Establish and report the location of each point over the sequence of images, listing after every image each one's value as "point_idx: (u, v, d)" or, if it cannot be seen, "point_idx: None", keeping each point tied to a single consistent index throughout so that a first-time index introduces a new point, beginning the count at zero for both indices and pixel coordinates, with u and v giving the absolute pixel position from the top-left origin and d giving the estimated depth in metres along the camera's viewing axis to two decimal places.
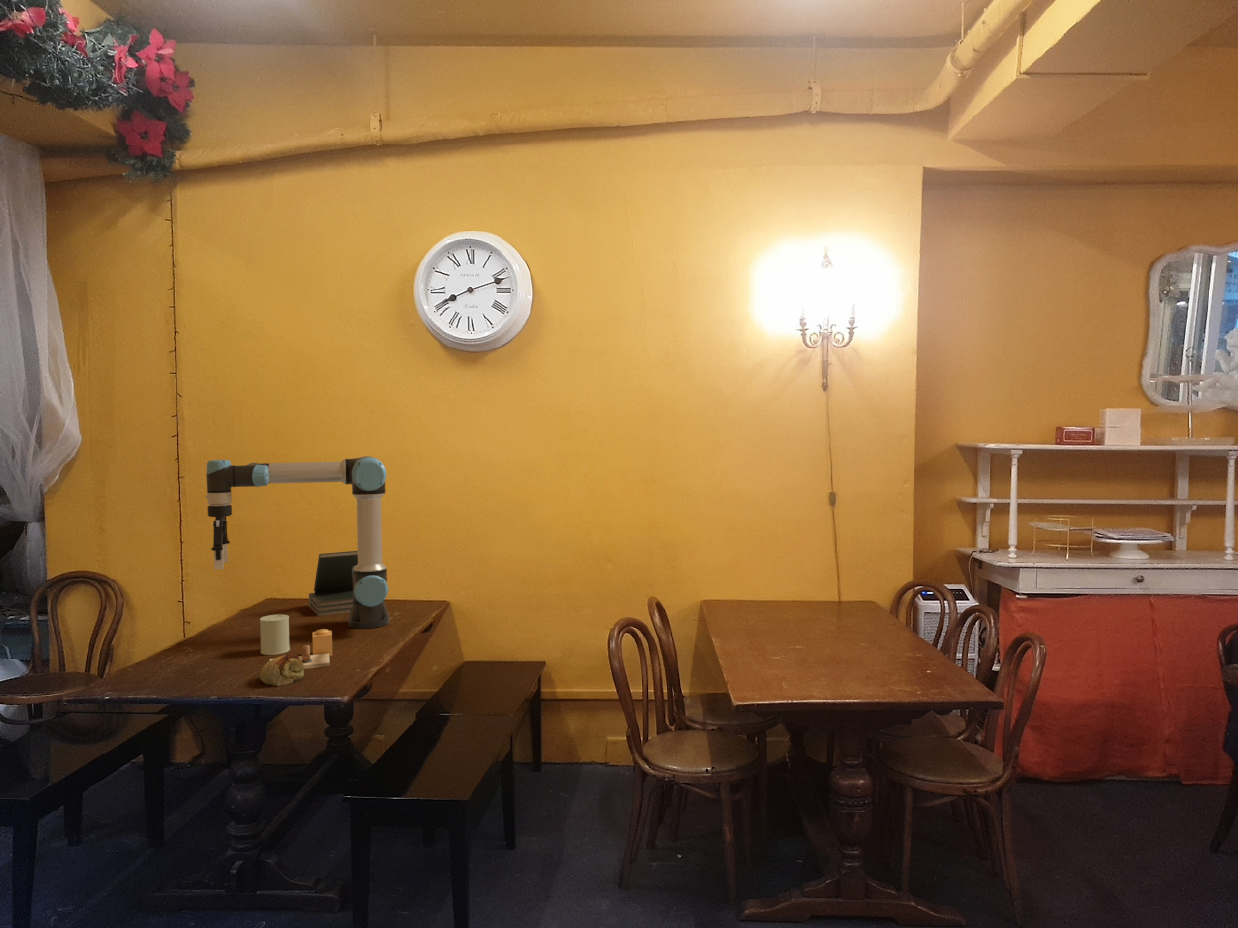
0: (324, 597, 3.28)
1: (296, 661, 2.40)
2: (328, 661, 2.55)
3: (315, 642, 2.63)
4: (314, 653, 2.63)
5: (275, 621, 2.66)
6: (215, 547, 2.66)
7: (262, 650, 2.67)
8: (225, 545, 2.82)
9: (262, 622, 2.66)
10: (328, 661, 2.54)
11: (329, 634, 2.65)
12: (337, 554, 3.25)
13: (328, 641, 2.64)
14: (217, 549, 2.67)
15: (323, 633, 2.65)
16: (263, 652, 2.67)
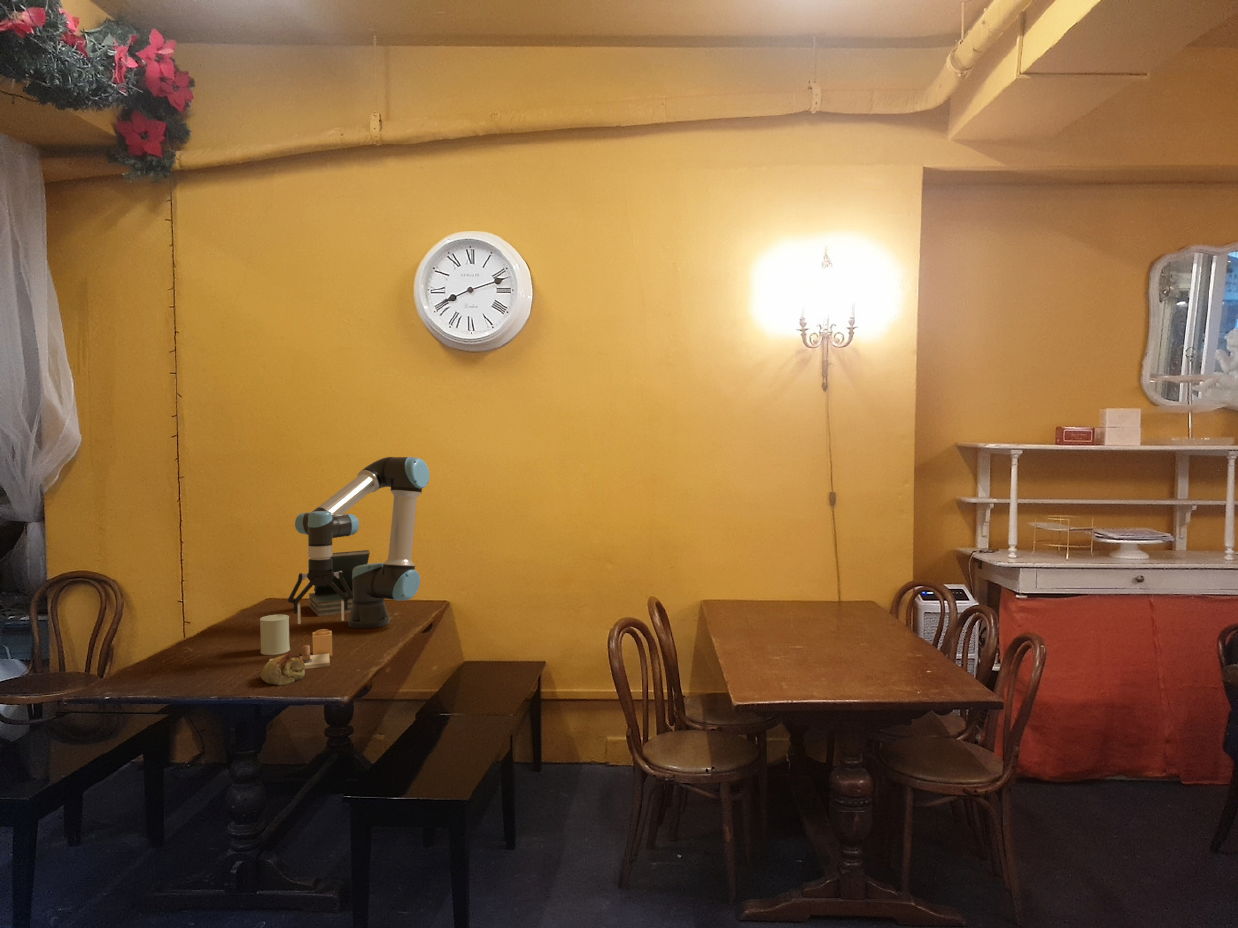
0: (324, 597, 3.27)
1: (297, 661, 2.41)
2: (328, 661, 2.55)
3: (315, 642, 2.63)
4: (314, 653, 2.63)
5: (275, 621, 2.66)
6: (288, 599, 2.62)
7: (262, 650, 2.67)
8: (341, 602, 2.67)
9: (262, 622, 2.66)
10: (328, 661, 2.54)
11: (329, 634, 2.65)
12: (337, 554, 3.25)
13: (328, 641, 2.64)
14: None
15: (323, 633, 2.65)
16: (263, 652, 2.67)
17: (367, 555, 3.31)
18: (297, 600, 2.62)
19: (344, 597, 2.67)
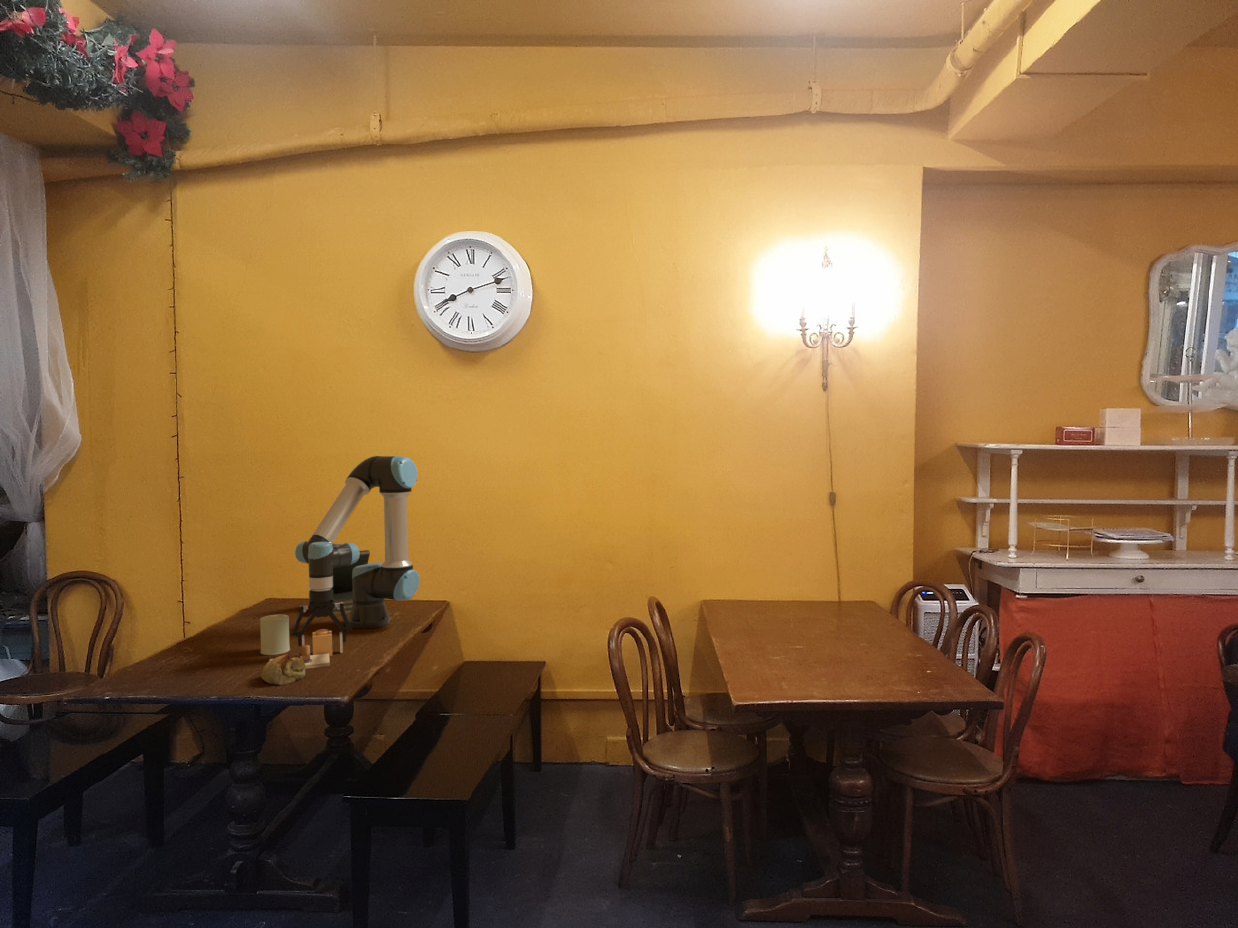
0: None
1: (298, 661, 2.41)
2: (328, 661, 2.55)
3: (315, 642, 2.63)
4: (314, 653, 2.63)
5: (275, 621, 2.66)
6: None
7: (262, 650, 2.67)
8: None
9: (262, 622, 2.66)
10: (328, 661, 2.54)
11: (329, 634, 2.65)
12: None
13: (328, 641, 2.64)
14: None
15: (323, 633, 2.65)
16: (263, 652, 2.67)
17: (367, 555, 3.30)
18: (301, 633, 2.63)
19: (343, 629, 2.67)
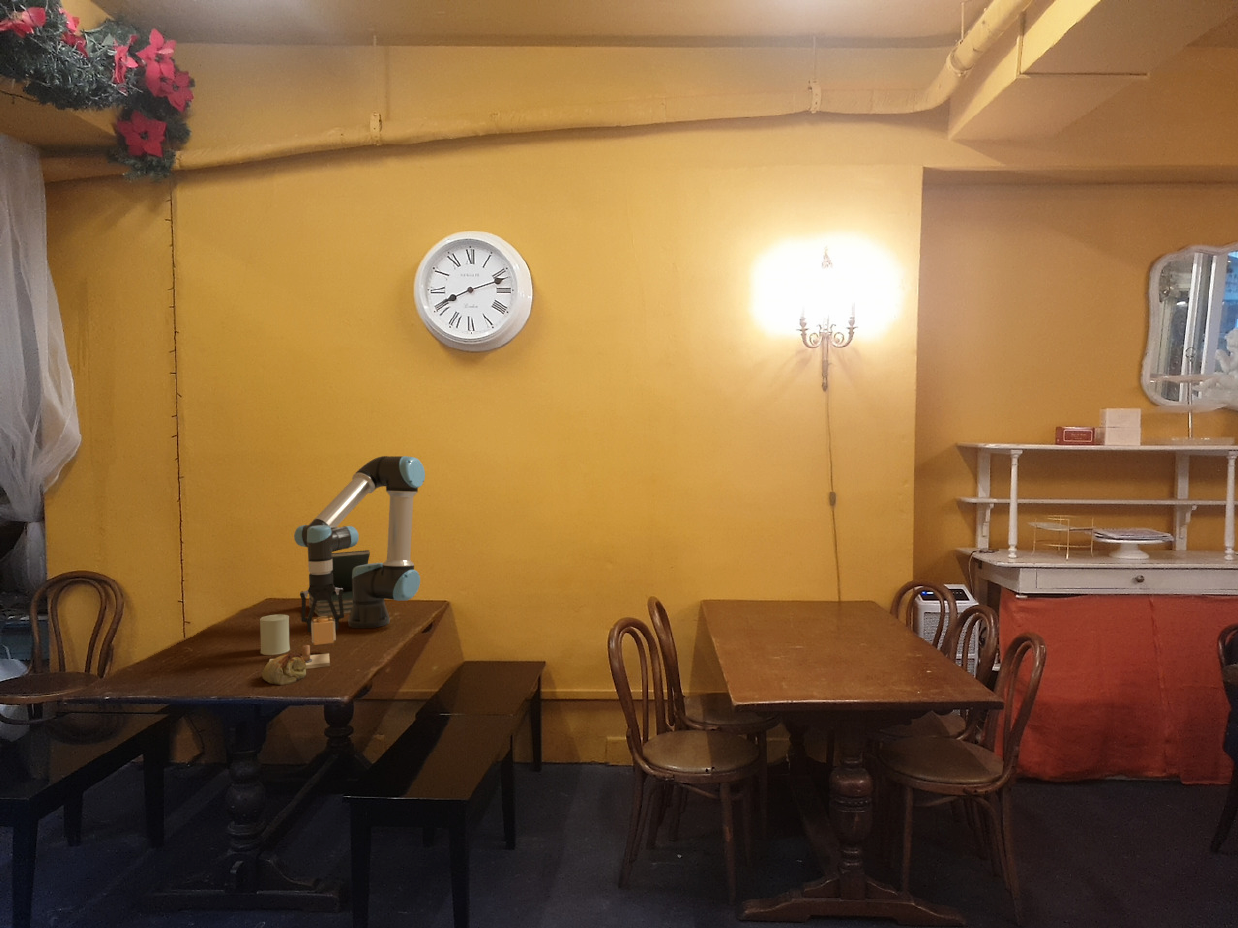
0: None
1: (299, 660, 2.41)
2: (328, 661, 2.55)
3: (316, 629, 2.63)
4: (315, 640, 2.63)
5: (275, 621, 2.66)
6: None
7: (262, 650, 2.67)
8: None
9: (262, 622, 2.66)
10: (328, 661, 2.54)
11: (330, 621, 2.66)
12: (338, 554, 3.25)
13: (329, 628, 2.65)
14: None
15: (324, 620, 2.65)
16: (263, 652, 2.67)
17: (367, 555, 3.30)
18: (310, 619, 2.64)
19: (336, 617, 2.67)
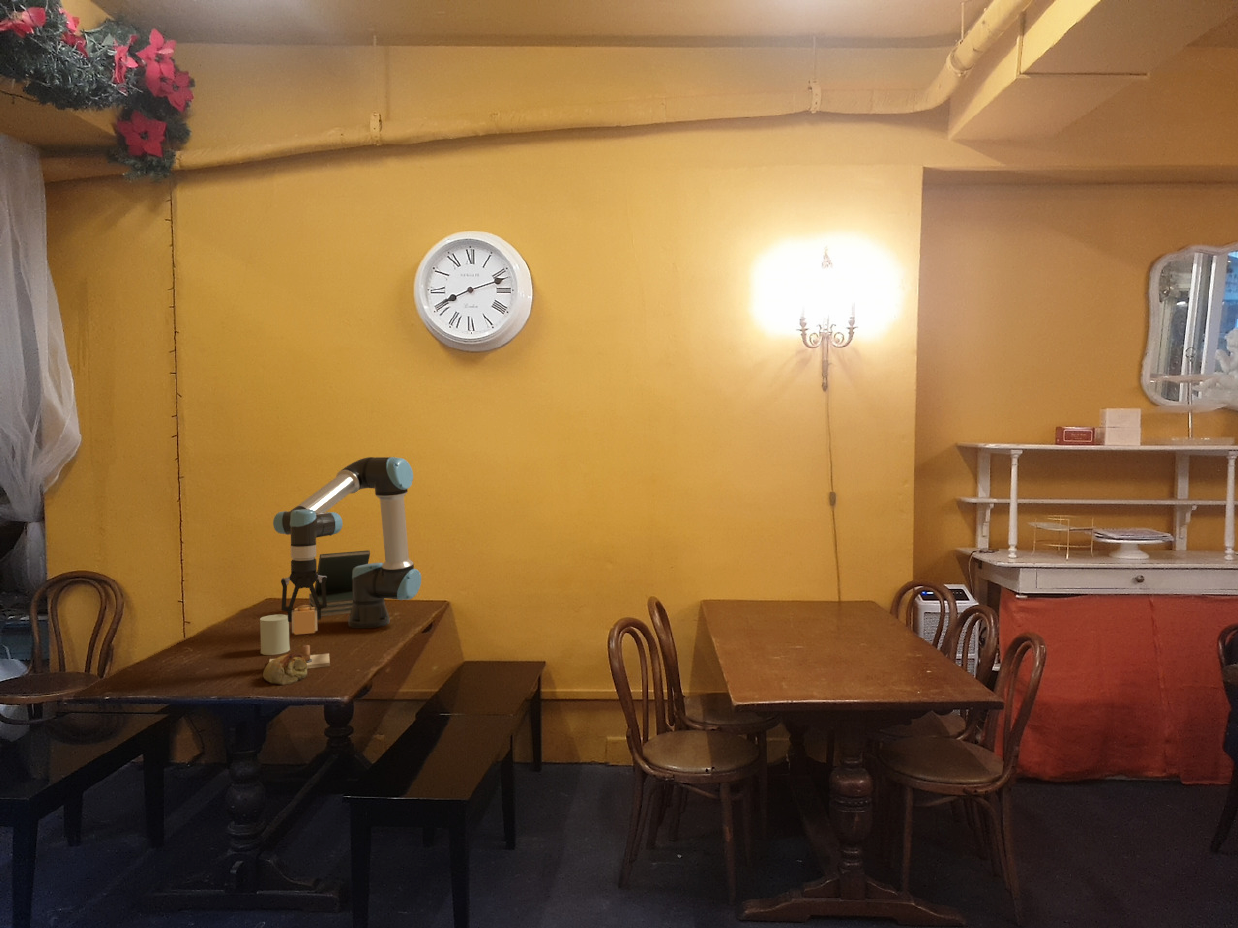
0: None
1: (300, 660, 2.42)
2: (328, 661, 2.55)
3: (297, 618, 2.50)
4: (295, 630, 2.50)
5: (275, 621, 2.66)
6: None
7: (262, 650, 2.67)
8: None
9: (262, 622, 2.66)
10: (328, 661, 2.54)
11: (312, 610, 2.53)
12: (338, 554, 3.24)
13: (310, 617, 2.51)
14: None
15: (305, 609, 2.52)
16: (263, 652, 2.67)
17: (367, 555, 3.30)
18: (290, 607, 2.51)
19: (318, 606, 2.54)
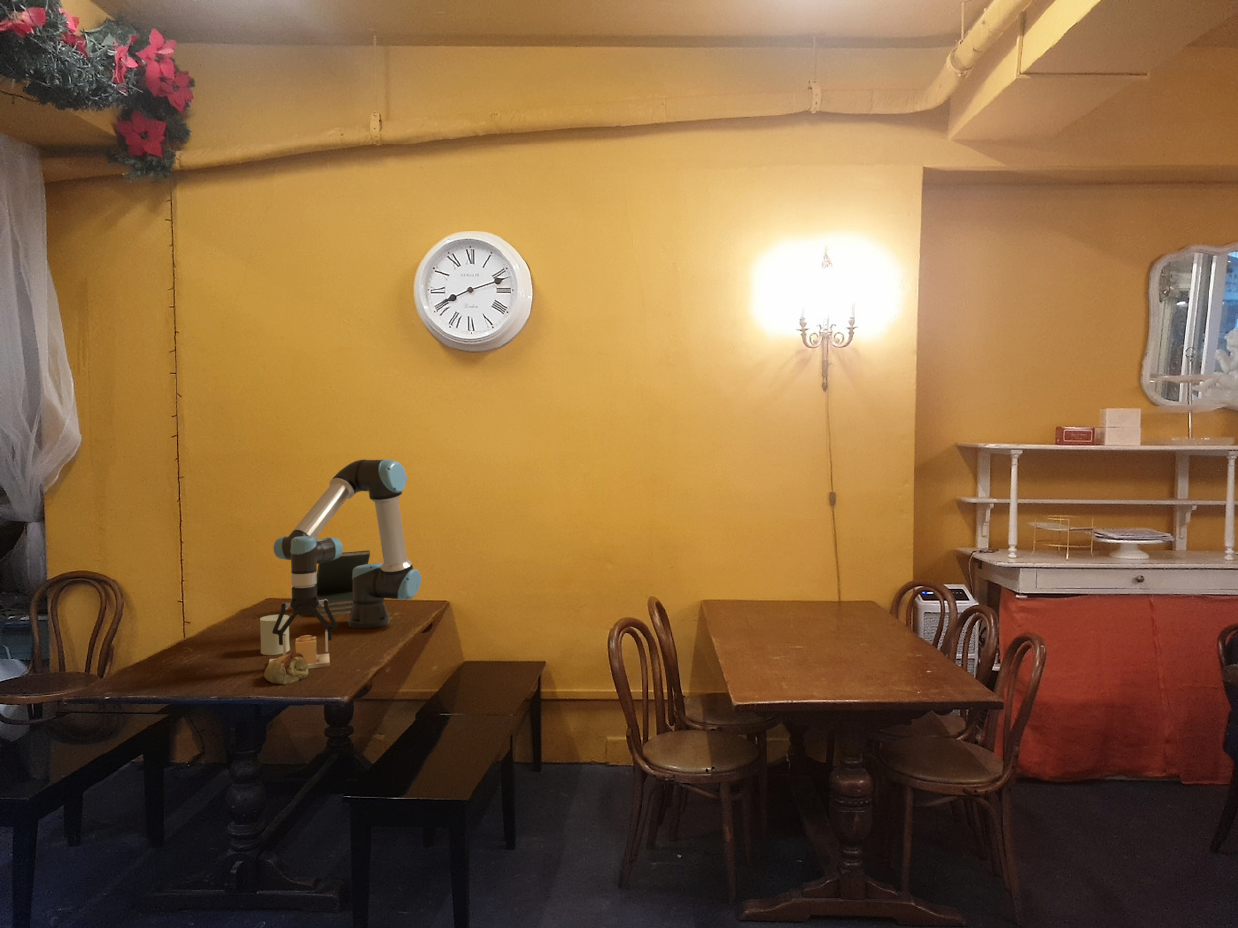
0: (325, 598, 3.27)
1: (301, 660, 2.42)
2: (328, 661, 2.55)
3: (298, 649, 2.51)
4: None
5: (275, 621, 2.66)
6: None
7: (262, 650, 2.67)
8: (325, 632, 2.55)
9: (262, 622, 2.66)
10: (328, 661, 2.54)
11: (313, 640, 2.53)
12: None
13: (312, 648, 2.52)
14: None
15: (307, 639, 2.52)
16: (263, 652, 2.67)
17: (367, 555, 3.30)
18: (282, 631, 2.51)
19: (328, 627, 2.55)
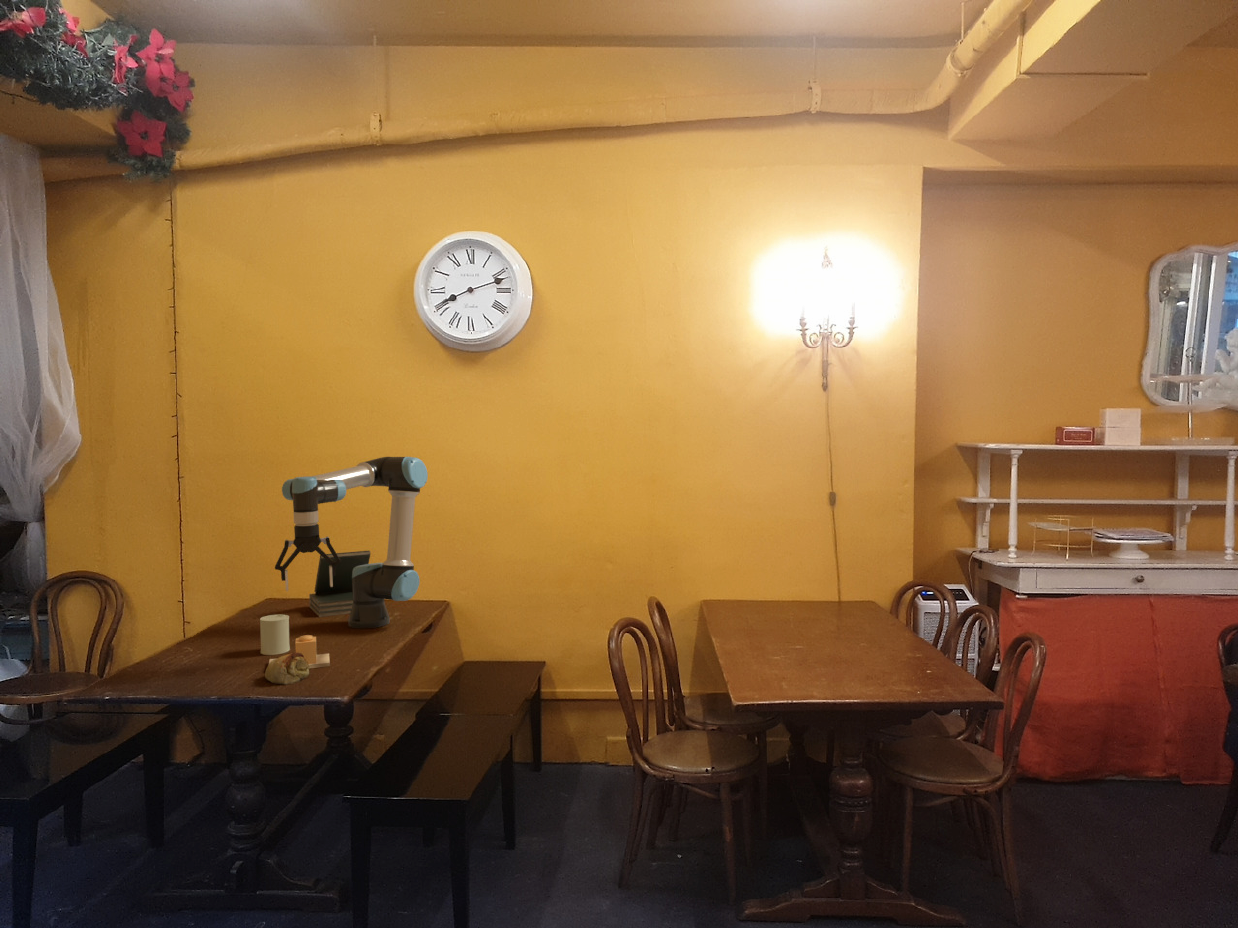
0: (325, 598, 3.26)
1: (302, 660, 2.42)
2: (328, 661, 2.55)
3: (298, 649, 2.51)
4: None
5: (275, 621, 2.66)
6: (275, 566, 2.59)
7: (262, 650, 2.67)
8: (329, 568, 2.64)
9: (262, 622, 2.66)
10: (328, 661, 2.54)
11: (313, 640, 2.53)
12: (338, 555, 3.24)
13: (312, 648, 2.52)
14: None
15: (307, 639, 2.52)
16: (263, 652, 2.67)
17: (368, 556, 3.29)
18: (284, 567, 2.58)
19: (332, 563, 2.64)
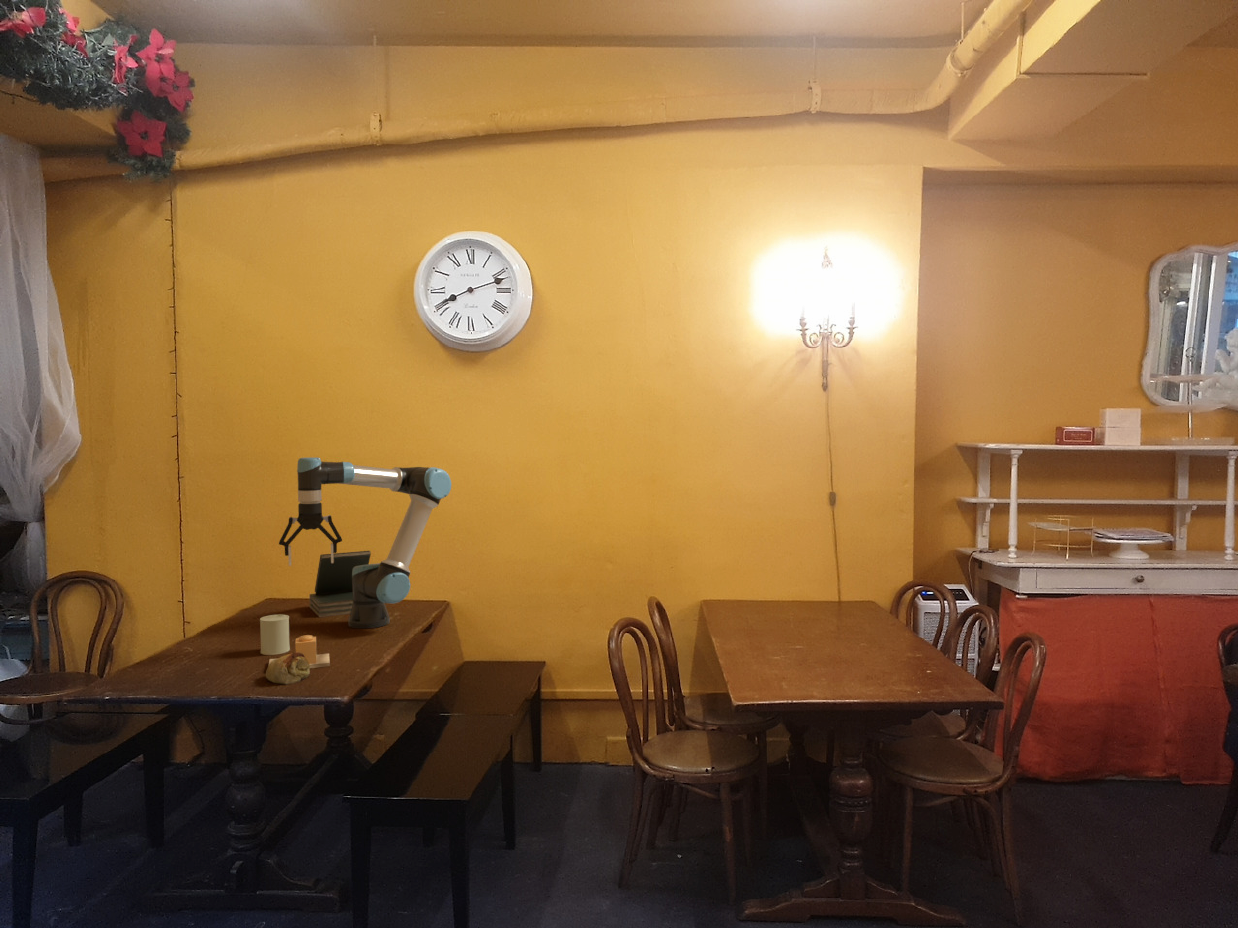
0: (325, 598, 3.26)
1: (303, 660, 2.42)
2: (328, 661, 2.55)
3: (298, 649, 2.51)
4: None
5: (275, 621, 2.66)
6: None
7: (262, 650, 2.67)
8: None
9: (262, 622, 2.66)
10: (328, 661, 2.54)
11: (313, 640, 2.53)
12: (338, 555, 3.23)
13: (312, 648, 2.52)
14: (281, 544, 2.72)
15: (307, 639, 2.52)
16: (263, 652, 2.67)
17: (368, 556, 3.29)
18: (288, 543, 2.71)
19: (333, 540, 2.77)
